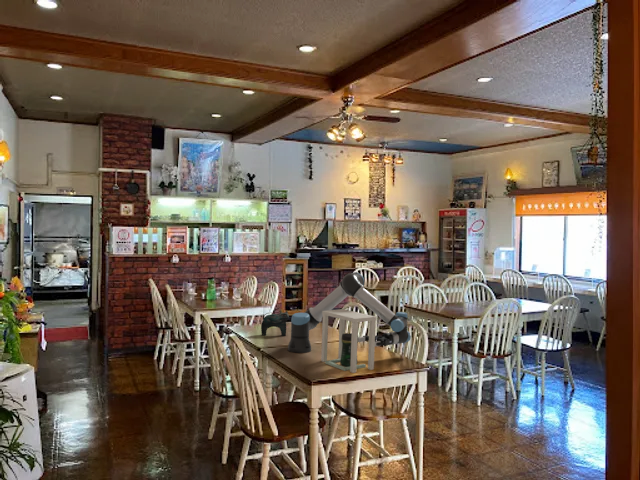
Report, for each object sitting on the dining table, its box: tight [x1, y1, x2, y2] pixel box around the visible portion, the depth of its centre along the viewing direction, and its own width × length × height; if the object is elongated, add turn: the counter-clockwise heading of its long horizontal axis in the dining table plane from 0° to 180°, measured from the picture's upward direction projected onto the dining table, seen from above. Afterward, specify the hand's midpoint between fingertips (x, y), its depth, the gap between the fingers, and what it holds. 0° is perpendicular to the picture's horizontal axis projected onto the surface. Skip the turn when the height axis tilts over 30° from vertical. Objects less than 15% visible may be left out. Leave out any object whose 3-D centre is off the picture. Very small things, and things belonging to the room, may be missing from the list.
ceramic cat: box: [260, 307, 290, 337], centre depth 374 cm, size 20×6×20 cm, turn 92°
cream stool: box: [320, 308, 377, 374], centre depth 298 cm, size 17×30×30 cm, turn 37°
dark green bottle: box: [339, 332, 359, 367], centre depth 298 cm, size 10×8×19 cm
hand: (364, 342), depth 306 cm, fingers open, 13 cm apart
